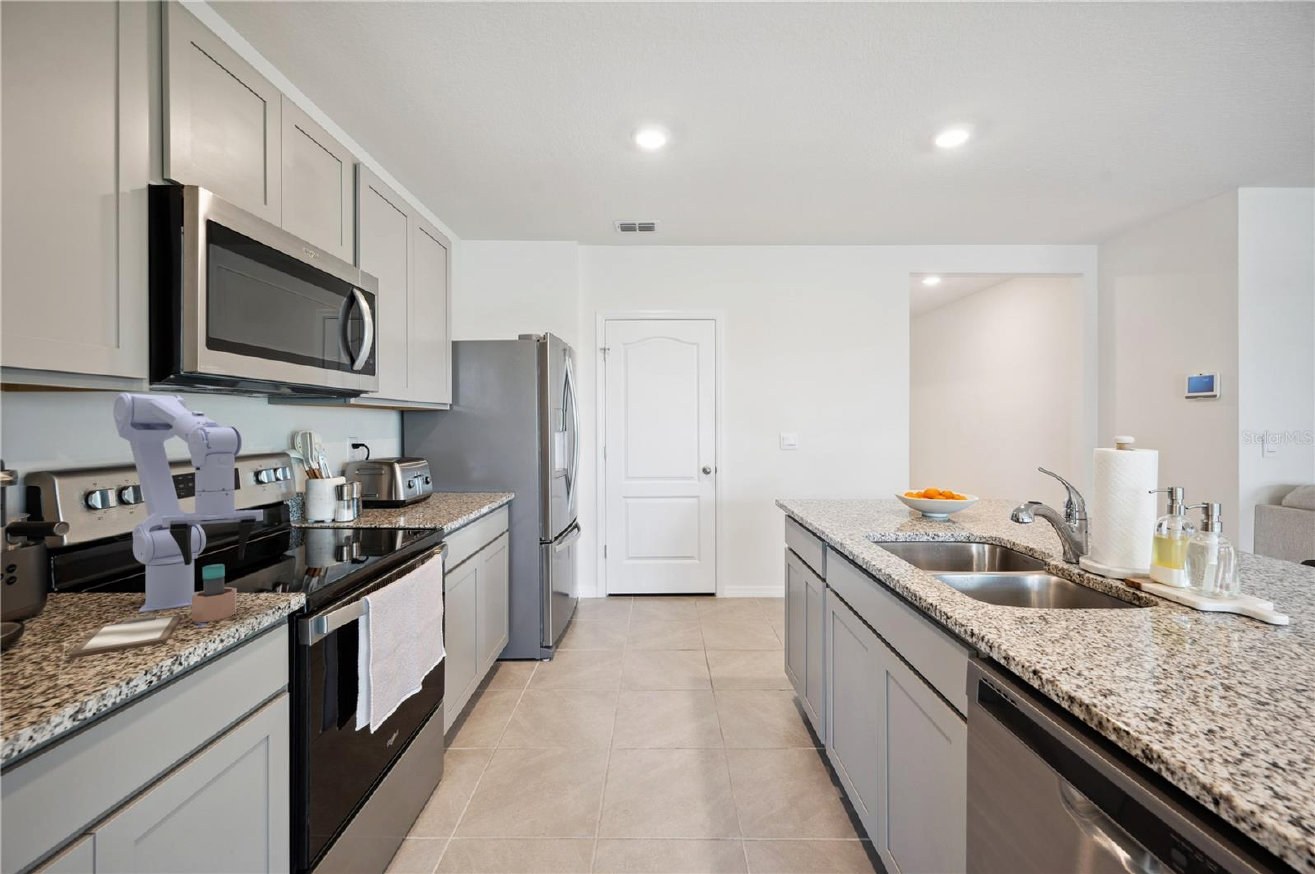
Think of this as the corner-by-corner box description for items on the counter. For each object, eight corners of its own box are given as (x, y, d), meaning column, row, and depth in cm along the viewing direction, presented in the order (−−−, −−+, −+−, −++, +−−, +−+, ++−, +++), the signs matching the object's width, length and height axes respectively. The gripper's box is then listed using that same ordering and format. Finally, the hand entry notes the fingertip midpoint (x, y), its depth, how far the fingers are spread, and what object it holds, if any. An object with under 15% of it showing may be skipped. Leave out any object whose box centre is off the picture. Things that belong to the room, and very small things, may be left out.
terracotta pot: (196, 614, 101) (196, 590, 101) (237, 608, 104) (237, 585, 104) (190, 624, 95) (190, 599, 95) (234, 617, 99) (234, 593, 99)
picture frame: (98, 629, 93) (98, 623, 93) (181, 617, 99) (181, 611, 99) (69, 658, 81) (69, 650, 81) (165, 642, 87) (165, 635, 87)
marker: (204, 612, 100) (203, 566, 100) (226, 609, 102) (225, 563, 102) (202, 617, 97) (201, 569, 97) (225, 614, 99) (223, 566, 99)
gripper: (158, 494, 92) (158, 571, 92) (261, 489, 100) (261, 560, 100) (167, 490, 98) (166, 563, 98) (263, 486, 106) (263, 553, 106)
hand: (215, 561), depth 100 cm, fingers open, 7 cm apart
